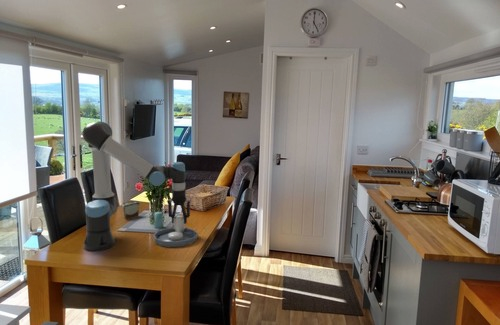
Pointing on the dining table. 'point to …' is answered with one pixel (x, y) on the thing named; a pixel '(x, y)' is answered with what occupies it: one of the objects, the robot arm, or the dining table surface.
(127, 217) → the food container
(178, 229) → the cream bead
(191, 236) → the groove tray
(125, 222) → the dining table surface
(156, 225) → the teal green block
